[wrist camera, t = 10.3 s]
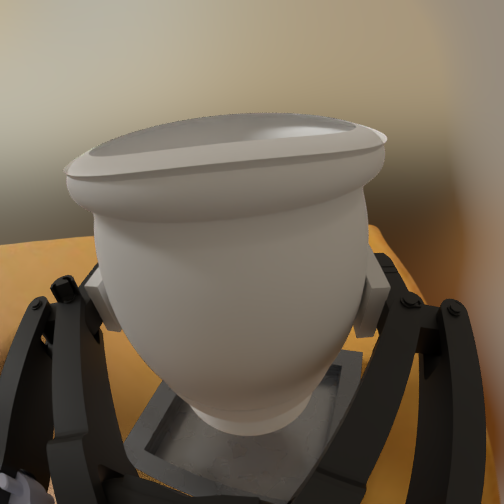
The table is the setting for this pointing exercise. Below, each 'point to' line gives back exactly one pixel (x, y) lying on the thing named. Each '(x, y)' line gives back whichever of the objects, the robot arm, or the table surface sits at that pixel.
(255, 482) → the dark grey square tray
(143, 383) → the table surface
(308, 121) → the jar
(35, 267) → the table surface
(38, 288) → the table surface
